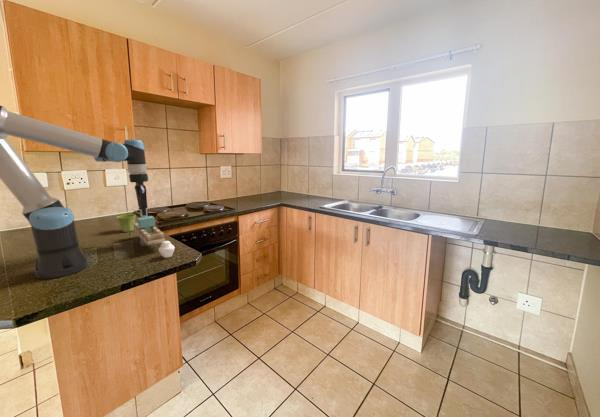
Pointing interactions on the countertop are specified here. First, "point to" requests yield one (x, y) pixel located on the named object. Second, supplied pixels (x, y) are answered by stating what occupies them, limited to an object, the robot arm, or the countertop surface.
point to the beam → (149, 235)
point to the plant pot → (126, 222)
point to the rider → (146, 223)
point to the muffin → (166, 249)
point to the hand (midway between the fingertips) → (144, 221)
